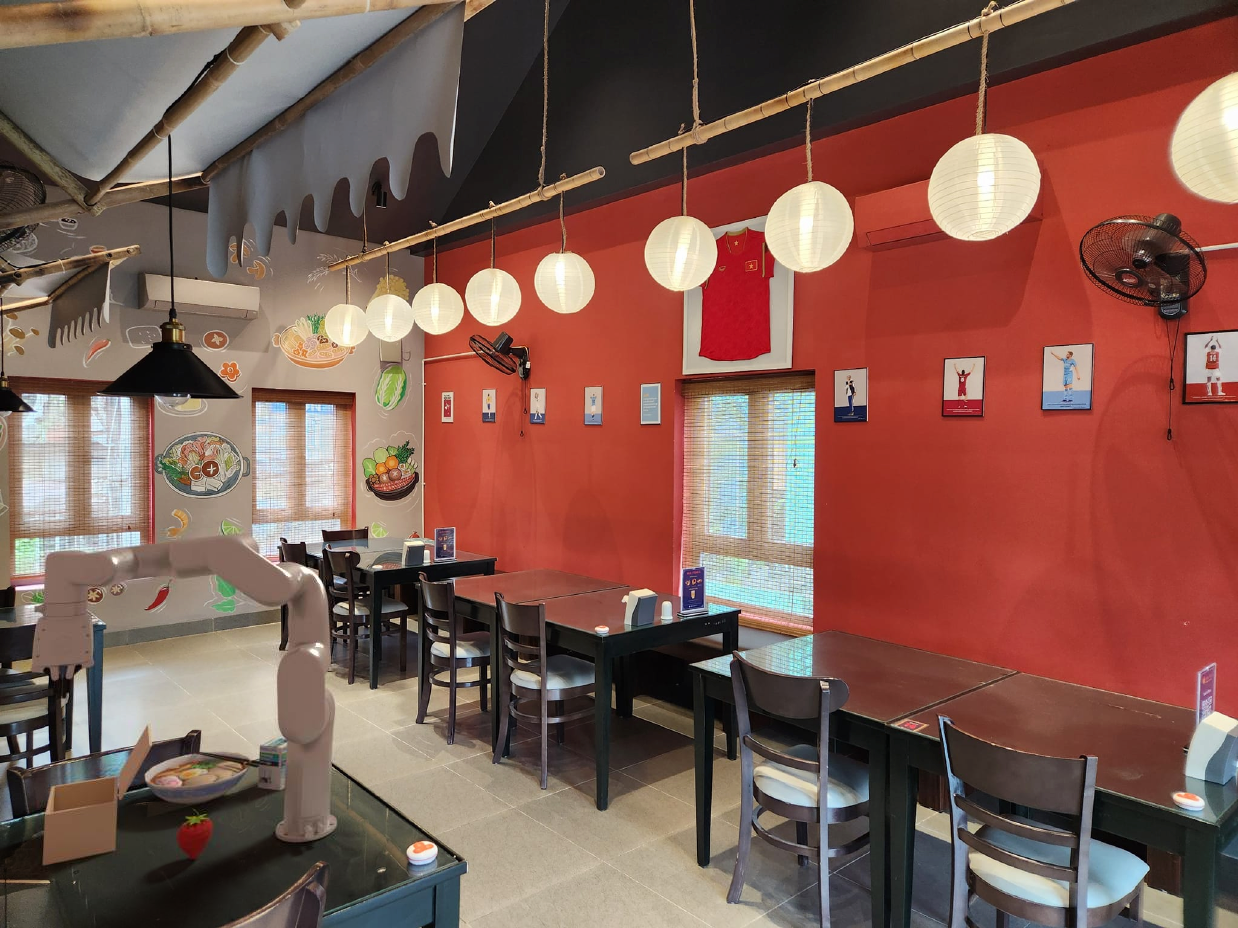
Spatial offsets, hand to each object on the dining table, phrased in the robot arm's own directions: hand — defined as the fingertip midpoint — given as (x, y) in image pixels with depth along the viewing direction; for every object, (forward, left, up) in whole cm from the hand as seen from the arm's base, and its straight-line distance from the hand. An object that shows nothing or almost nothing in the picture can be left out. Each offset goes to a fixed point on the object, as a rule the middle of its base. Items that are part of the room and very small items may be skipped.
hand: (61, 697), depth 157 cm
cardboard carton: (0, -5, -31) cm, 31 cm away
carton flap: (0, -13, -16) cm, 20 cm away
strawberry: (-20, -24, -31) cm, 44 cm away
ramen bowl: (+12, -27, -31) cm, 43 cm away
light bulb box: (+13, -46, -31) cm, 57 cm away
